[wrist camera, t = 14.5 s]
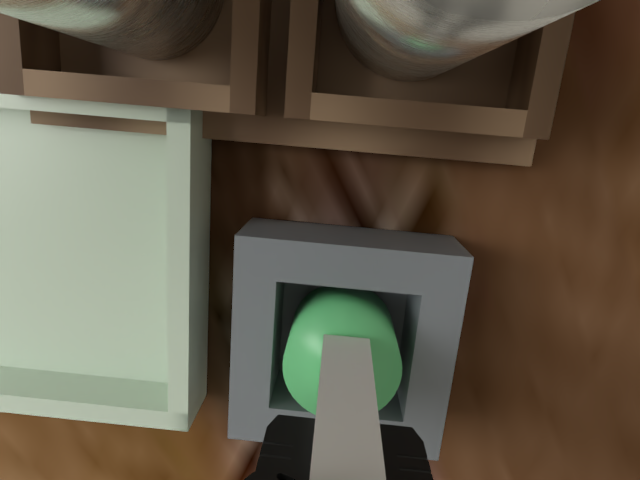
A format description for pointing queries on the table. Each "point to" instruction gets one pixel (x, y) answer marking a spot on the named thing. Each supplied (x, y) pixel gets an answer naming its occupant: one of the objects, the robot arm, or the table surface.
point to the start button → (342, 320)
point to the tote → (104, 265)
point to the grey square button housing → (353, 273)
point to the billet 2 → (438, 31)
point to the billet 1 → (125, 22)
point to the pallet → (302, 86)
